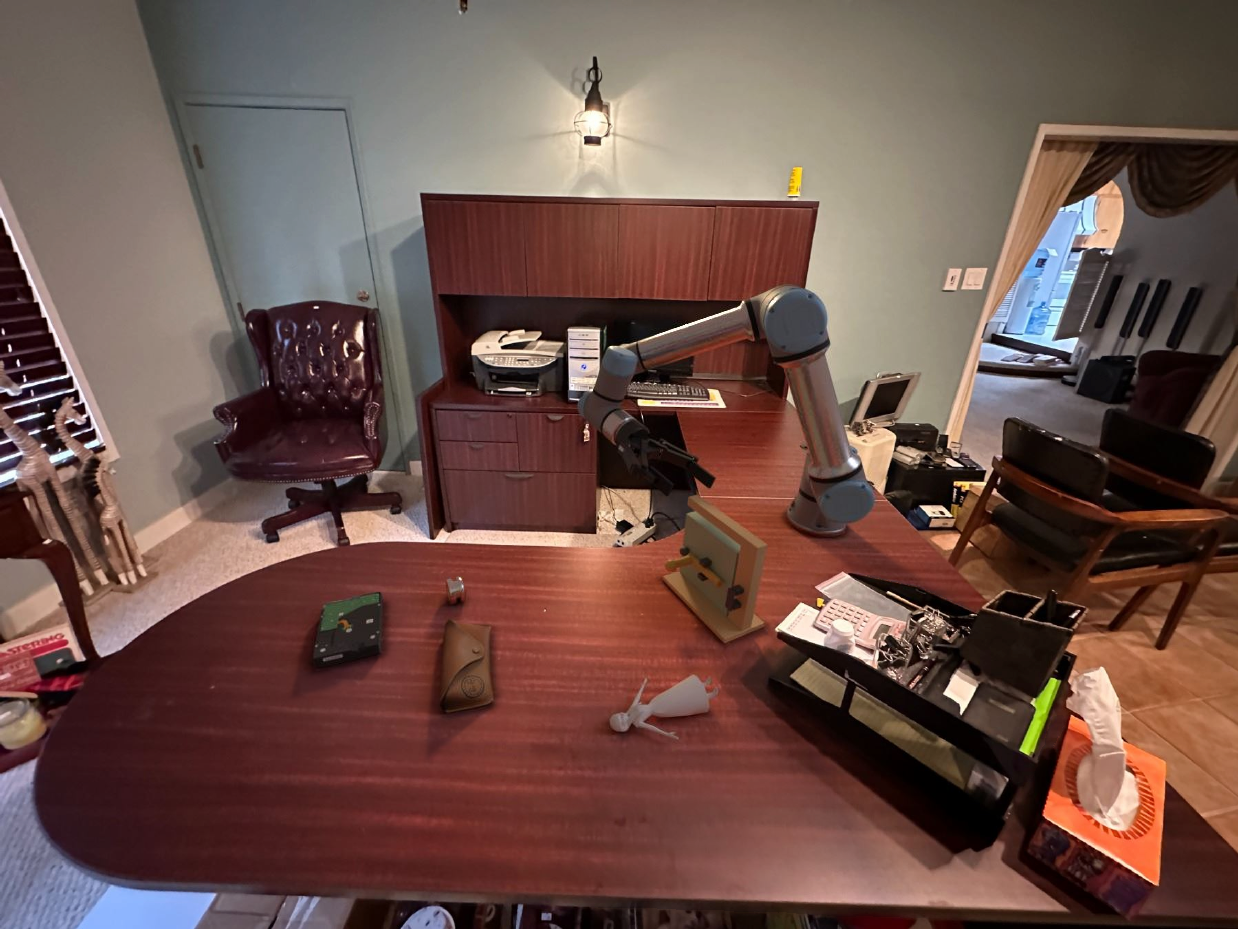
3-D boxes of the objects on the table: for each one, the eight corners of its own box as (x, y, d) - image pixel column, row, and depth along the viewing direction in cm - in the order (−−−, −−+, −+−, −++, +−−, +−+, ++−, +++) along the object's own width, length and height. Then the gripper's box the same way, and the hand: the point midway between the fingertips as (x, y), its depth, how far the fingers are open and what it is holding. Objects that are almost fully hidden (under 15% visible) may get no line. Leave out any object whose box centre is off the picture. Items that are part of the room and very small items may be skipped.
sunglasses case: (497, 701, 78) (471, 679, 75) (459, 725, 78) (432, 704, 75) (491, 623, 94) (470, 601, 91) (460, 643, 94) (438, 622, 90)
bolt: (690, 559, 105) (692, 549, 104) (722, 588, 97) (724, 577, 96) (661, 568, 101) (662, 558, 100) (691, 598, 93) (693, 587, 92)
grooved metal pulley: (446, 594, 101) (444, 574, 99) (461, 590, 103) (459, 570, 101) (452, 609, 97) (449, 589, 95) (467, 604, 99) (465, 584, 97)
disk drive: (383, 654, 87) (383, 600, 99) (380, 642, 85) (381, 589, 98) (315, 671, 83) (324, 613, 95) (311, 659, 82) (321, 601, 94)
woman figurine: (734, 706, 74) (624, 749, 69) (732, 726, 76) (624, 769, 71) (696, 650, 84) (597, 684, 79) (695, 669, 86) (598, 703, 81)
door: (698, 568, 113) (709, 491, 105) (763, 626, 97) (782, 540, 89) (662, 579, 109) (670, 500, 101) (724, 643, 92) (739, 554, 84)
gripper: (657, 445, 122) (720, 494, 109) (579, 450, 104) (643, 510, 92) (669, 418, 118) (735, 466, 106) (589, 419, 101) (657, 476, 89)
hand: (692, 486), depth 99 cm, fingers open, 13 cm apart
